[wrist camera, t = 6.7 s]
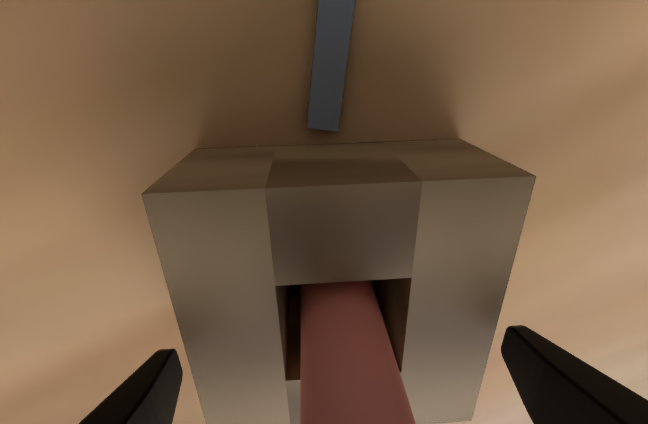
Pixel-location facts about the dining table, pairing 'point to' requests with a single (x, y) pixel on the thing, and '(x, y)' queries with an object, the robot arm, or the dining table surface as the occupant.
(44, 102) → the dining table surface
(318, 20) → the blue gray square bar
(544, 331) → the dining table surface
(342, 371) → the reddish pink rod
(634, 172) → the dining table surface
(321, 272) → the brown square holed block
